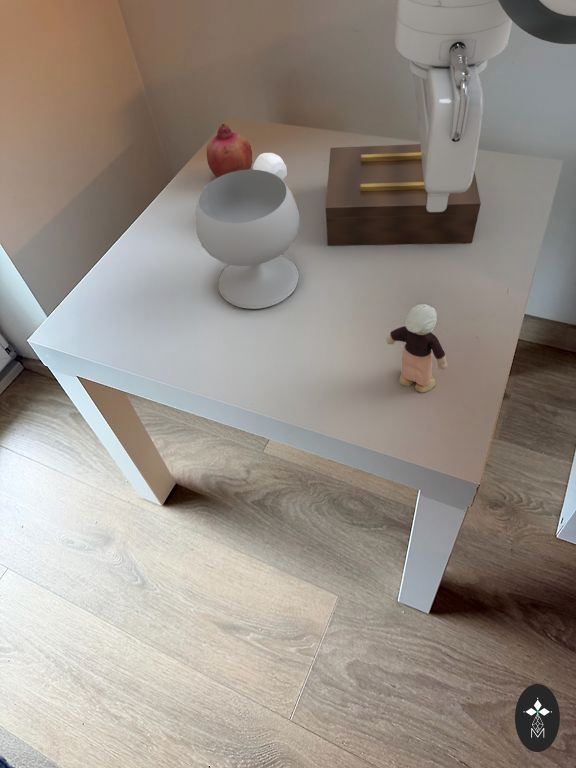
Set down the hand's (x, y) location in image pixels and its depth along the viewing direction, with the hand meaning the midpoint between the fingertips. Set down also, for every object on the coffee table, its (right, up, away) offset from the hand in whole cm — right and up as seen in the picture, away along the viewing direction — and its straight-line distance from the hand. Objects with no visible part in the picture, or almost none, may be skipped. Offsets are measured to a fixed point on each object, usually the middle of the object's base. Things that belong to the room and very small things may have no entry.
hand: (431, 177), depth 53 cm
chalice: (-19, -5, +28) cm, 34 cm away
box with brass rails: (+4, +8, +35) cm, 36 cm away
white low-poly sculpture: (-20, +8, +38) cm, 44 cm away
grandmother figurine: (+2, -20, +15) cm, 25 cm away
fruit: (-24, +17, +45) cm, 54 cm away
